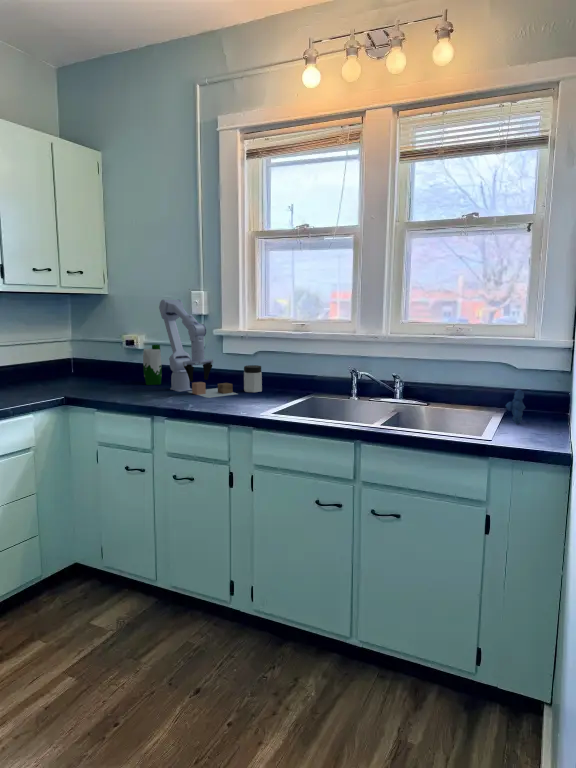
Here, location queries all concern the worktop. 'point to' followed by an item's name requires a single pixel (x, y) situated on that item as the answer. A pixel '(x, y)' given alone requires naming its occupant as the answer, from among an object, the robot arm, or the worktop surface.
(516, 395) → the grapes
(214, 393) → the mat
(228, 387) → the walnut block
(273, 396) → the worktop surface
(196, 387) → the terracotta block
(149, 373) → the milk carton
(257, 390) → the jar
